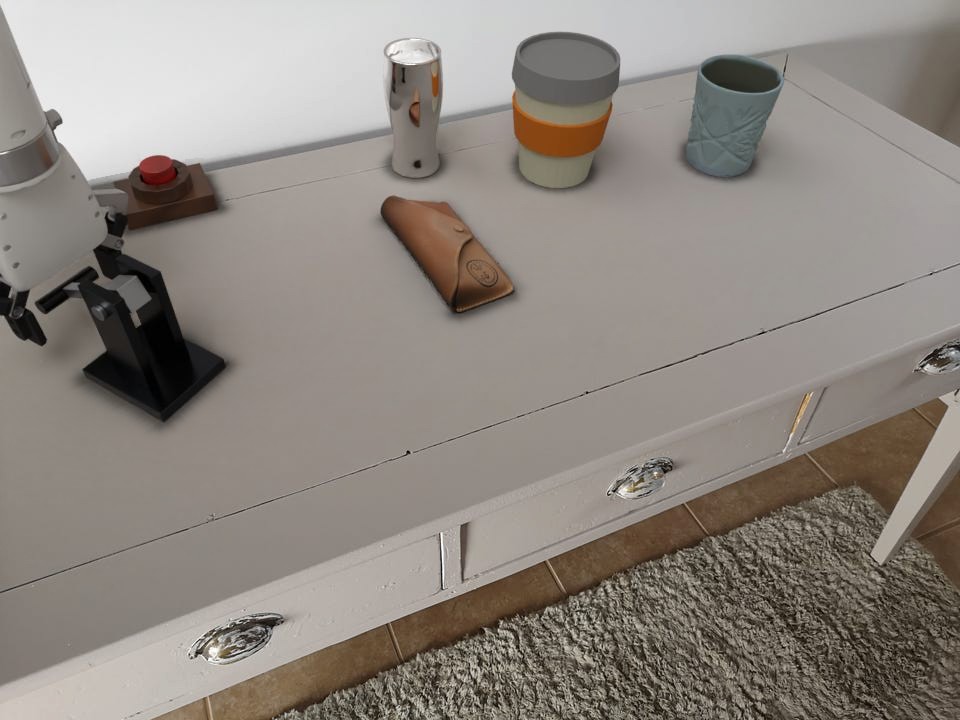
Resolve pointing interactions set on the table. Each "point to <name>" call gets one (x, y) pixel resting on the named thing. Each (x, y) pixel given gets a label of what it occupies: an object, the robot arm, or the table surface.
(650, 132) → the table surface
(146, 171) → the button
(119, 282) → the lever
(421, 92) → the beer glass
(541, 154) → the reusable coffee cup
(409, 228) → the sunglasses case
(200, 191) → the control block
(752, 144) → the embossed green cup
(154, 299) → the bracket
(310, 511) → the table surface
